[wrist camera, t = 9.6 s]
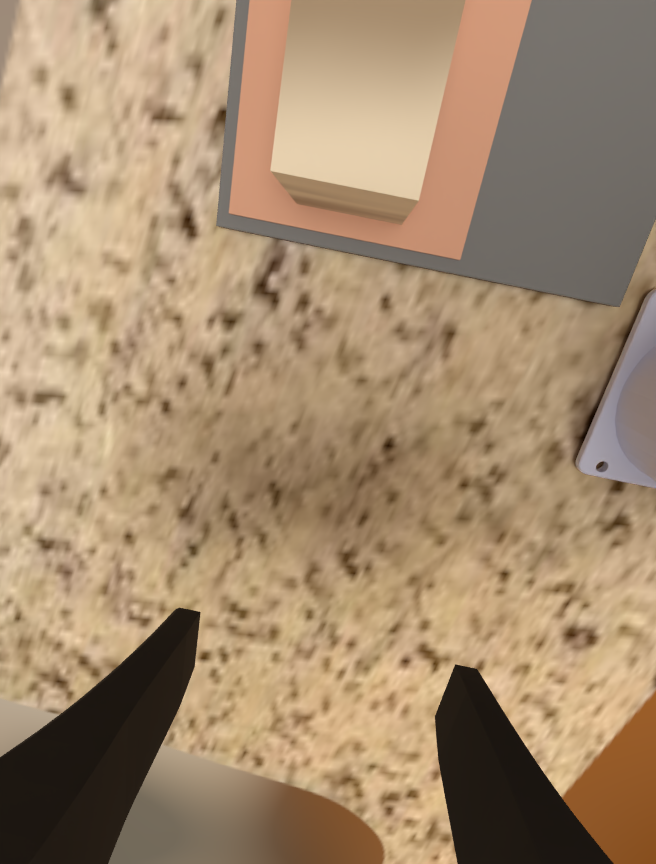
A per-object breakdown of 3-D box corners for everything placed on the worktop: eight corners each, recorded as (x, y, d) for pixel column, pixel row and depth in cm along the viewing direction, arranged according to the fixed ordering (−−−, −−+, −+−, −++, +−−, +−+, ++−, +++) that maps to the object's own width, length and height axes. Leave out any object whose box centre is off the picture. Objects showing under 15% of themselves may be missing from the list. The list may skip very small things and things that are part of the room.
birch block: (401, 224, 16) (418, 200, 11) (297, 204, 16) (270, 171, 11) (455, -14, 14) (505, -173, 9) (332, -39, 14) (316, -209, 9)
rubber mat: (860, -301, 11) (886, -332, 11) (613, 306, 17) (622, 307, 16) (278, -414, 12) (274, -451, 11) (219, 226, 17) (214, 224, 16)
